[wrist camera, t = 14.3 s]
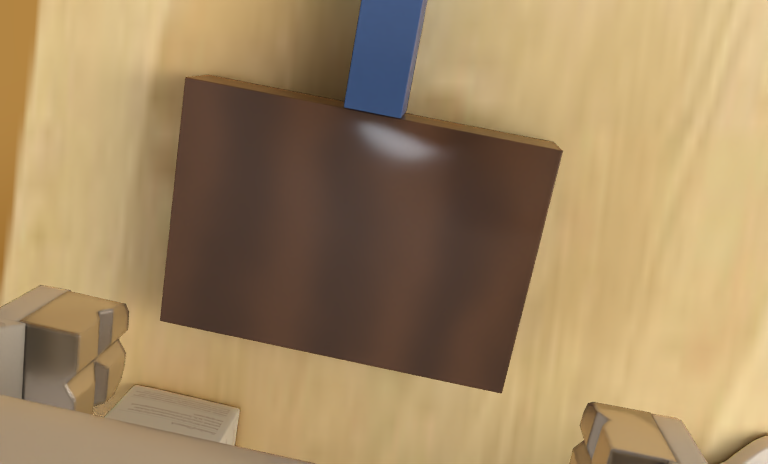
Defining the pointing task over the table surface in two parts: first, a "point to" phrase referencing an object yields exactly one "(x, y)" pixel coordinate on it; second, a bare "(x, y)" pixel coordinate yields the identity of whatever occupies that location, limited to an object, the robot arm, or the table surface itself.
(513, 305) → the chopping board
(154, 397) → the white packaging box
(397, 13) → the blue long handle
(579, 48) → the table surface
